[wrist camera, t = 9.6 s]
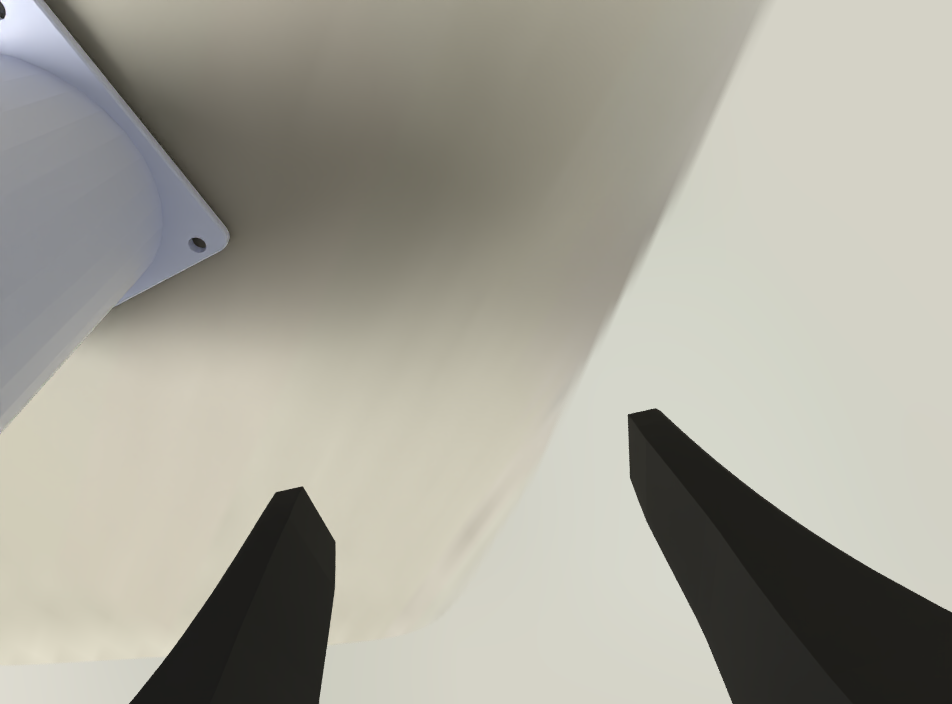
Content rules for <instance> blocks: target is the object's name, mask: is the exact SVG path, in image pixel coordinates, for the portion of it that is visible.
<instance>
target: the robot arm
mask: <svg viewBox="0 0 952 704" xmlns="http://www.w3.org/2000/svg"><path fill="white" fill-rule="evenodd" d="M0 1H1V2H2V4H3V6H4V7H5V9H6V16H5V18H4V19H3V18H1V17H0V434H1V433H2V432H3V431H4V429H5V428H6V427H7V426H8V425H9V424H10V423H11V422H12V420H13V419H14V418H15V417H16V416H17V415H18V414H19V413H20V412H21V410H22V409H23V408H24V407H25V406H26V405H27V404H28V403H29V401H30V400H31V399H32V398H33V397H34V396H35V395H36V394H37V392H38V391H39V390H40V389H41V388H42V387H43V386H44V385H45V383H46V382H47V381H48V380H49V379H50V378H51V377H52V376H53V374H54V373H55V372H56V371H57V370H58V369H59V368H60V367H61V365H62V364H63V363H64V362H65V361H66V360H67V359H68V358H69V356H70V355H71V354H72V353H73V352H74V351H75V350H76V349H77V347H78V346H79V345H80V344H81V343H82V342H83V341H84V340H85V338H86V337H87V336H88V335H89V334H90V333H91V332H92V331H93V329H94V328H95V327H96V326H97V325H98V324H99V323H100V322H101V320H102V319H103V318H104V317H105V316H106V315H107V314H108V313H109V311H110V310H111V309H112V308H113V307H115V306H117V305H119V304H121V303H123V302H125V301H127V300H128V299H130V298H132V297H134V296H136V295H138V294H140V293H142V292H144V291H146V290H147V289H149V288H151V287H153V286H155V285H157V284H159V283H161V282H163V281H165V280H166V279H168V278H170V277H172V276H174V275H176V274H178V273H180V272H182V271H184V270H186V269H187V268H189V267H191V266H193V265H195V264H197V263H199V262H201V261H203V260H205V259H206V258H208V257H210V256H212V255H214V254H216V253H218V252H220V251H222V250H223V249H224V248H225V247H226V246H227V244H228V242H229V239H230V236H229V232H228V230H227V228H226V227H225V225H224V224H223V223H222V222H221V220H220V219H219V218H218V217H217V215H216V214H215V213H214V212H213V210H212V209H211V208H210V207H209V205H208V204H207V203H206V202H205V200H204V199H203V198H202V197H201V195H200V194H199V193H198V192H197V190H196V189H195V188H194V187H193V185H192V184H191V183H190V182H189V181H188V179H187V178H186V177H185V176H184V174H183V173H182V172H181V171H180V169H179V168H178V167H177V166H176V164H175V163H174V162H173V161H172V159H171V158H170V157H169V156H168V154H167V153H166V152H165V151H164V149H163V148H162V147H161V146H160V144H159V143H158V142H157V141H156V139H155V138H154V137H153V136H152V134H151V133H150V132H149V131H148V130H147V128H146V127H145V126H144V125H143V123H142V122H141V121H140V120H139V118H138V117H137V116H136V115H135V113H134V112H133V111H132V110H131V108H130V107H129V106H128V105H127V103H126V102H125V101H124V100H123V98H122V97H121V96H120V95H119V93H118V92H117V91H116V90H115V88H114V87H113V86H112V85H111V84H110V82H109V81H108V80H107V79H106V77H105V76H104V75H103V74H102V72H101V71H100V70H99V69H98V67H97V66H96V65H95V64H94V62H93V61H92V60H91V59H90V57H89V56H88V55H87V54H86V52H85V51H84V50H83V49H82V47H81V46H80V45H79V44H78V42H77V41H76V40H75V39H74V38H73V36H72V35H71V34H70V33H69V31H68V30H67V29H66V28H65V26H64V25H63V24H62V23H61V21H60V20H59V19H58V18H57V16H56V15H55V14H54V13H53V11H52V10H51V9H50V8H49V6H48V5H47V4H46V3H45V1H44V0H0ZM194 237H197V238H200V239H202V240H203V241H204V242H205V244H206V247H205V248H201V247H198V246H196V245H195V244H194V242H193V241H192V238H194ZM628 431H629V459H630V460H629V461H630V479H631V481H632V484H633V487H634V490H635V492H636V495H637V498H638V500H639V503H640V506H641V508H642V511H643V513H644V516H645V518H646V521H647V523H648V525H649V527H650V529H651V531H652V532H653V535H654V537H655V539H656V541H657V542H658V545H659V546H660V548H661V550H662V552H663V554H664V556H665V558H666V560H667V562H668V564H669V566H670V568H671V570H672V571H673V574H674V575H675V578H676V580H677V581H678V583H679V585H680V587H681V589H682V591H683V593H684V595H685V597H686V599H687V601H688V603H689V605H690V607H691V608H692V610H693V612H694V614H695V616H696V618H697V620H698V622H699V625H700V627H701V629H702V631H703V633H704V635H705V637H706V639H707V642H708V644H709V647H710V649H711V652H712V654H713V657H714V659H715V661H716V664H717V666H718V669H719V671H720V674H721V676H722V678H723V681H724V683H725V685H726V688H727V691H728V693H729V696H730V698H731V701H732V703H733V704H952V612H950V611H948V610H946V609H944V608H942V607H940V606H938V605H937V604H934V603H933V602H931V601H929V600H927V599H926V598H924V597H922V596H920V595H918V594H916V593H914V592H913V591H911V590H909V589H907V588H905V587H903V586H902V585H900V584H898V583H896V582H894V581H892V580H891V579H889V578H887V577H885V576H884V575H882V574H880V573H878V572H876V571H874V570H873V569H871V568H869V567H868V566H866V565H864V564H863V563H861V562H859V561H858V560H856V559H854V558H852V557H851V556H849V555H848V554H846V553H844V552H843V551H841V550H839V549H838V548H836V547H835V546H833V545H832V544H830V543H828V542H827V541H825V540H824V539H822V538H821V537H819V536H817V535H816V534H814V533H813V532H811V531H810V530H808V529H807V528H805V527H804V526H802V525H801V524H799V523H798V522H796V521H795V520H793V519H792V518H791V517H789V516H788V515H786V514H785V513H784V512H782V511H781V510H779V509H778V508H777V507H775V506H774V505H773V504H771V503H770V502H768V501H767V500H766V499H764V498H763V497H762V496H760V495H759V494H757V493H756V492H755V491H754V490H752V489H751V488H750V487H748V486H747V485H746V484H745V483H743V482H742V481H741V480H739V479H738V478H737V477H736V476H735V475H733V474H732V473H731V472H730V471H728V470H727V469H726V468H724V467H723V466H722V465H721V464H720V463H718V462H717V461H716V460H715V459H714V458H712V457H711V456H710V455H709V454H708V453H706V452H705V451H704V450H703V449H702V448H701V447H700V446H698V445H697V444H696V443H695V442H694V441H693V440H692V439H690V438H689V437H688V436H687V435H686V434H685V433H683V431H681V430H680V429H679V428H678V427H677V426H676V425H675V424H674V423H673V422H672V421H671V420H670V419H668V418H667V417H666V416H665V415H664V414H663V413H662V412H661V411H659V410H658V409H650V410H646V411H641V412H637V413H632V414H628ZM334 590H335V540H334V539H333V537H332V535H331V534H330V532H329V530H328V528H327V527H326V525H325V523H324V522H323V520H322V518H321V517H320V515H319V513H318V511H317V510H316V508H315V506H314V505H313V503H312V501H311V500H310V498H309V496H308V494H307V493H306V491H305V489H304V488H303V486H302V487H298V488H293V489H289V490H284V491H280V492H276V493H275V494H274V496H273V498H272V499H271V501H270V502H269V504H268V505H267V507H266V508H265V510H264V512H263V513H262V515H261V517H260V518H259V520H258V521H257V523H256V525H255V526H254V528H253V529H252V531H251V533H250V534H249V536H248V538H247V539H246V541H245V542H244V544H243V546H242V547H241V549H240V550H239V552H238V554H237V555H236V557H235V558H234V560H233V561H232V563H231V565H230V566H229V568H228V569H227V571H226V572H225V574H224V575H223V577H222V579H221V580H220V582H219V583H218V585H217V586H216V588H215V589H214V591H213V592H212V594H211V595H210V597H209V598H208V600H207V601H206V603H205V604H204V606H203V607H202V608H201V610H200V611H199V613H198V614H197V616H196V617H195V618H194V620H193V621H192V623H191V624H190V626H189V627H188V628H187V630H186V631H185V633H184V634H183V636H182V637H181V638H180V640H179V641H178V642H177V644H176V645H175V646H174V648H173V649H172V651H171V652H170V653H169V655H168V656H167V657H166V658H165V660H164V661H163V663H162V664H161V665H160V666H159V668H158V669H157V670H156V671H155V672H154V674H153V675H152V676H151V678H150V679H149V680H148V681H147V682H146V684H145V685H144V686H143V688H142V689H141V690H140V691H139V692H138V694H137V695H136V696H135V697H134V699H133V700H132V701H131V702H130V703H129V704H319V697H320V690H321V683H322V676H323V669H324V662H325V656H326V649H327V642H328V635H329V628H330V620H331V613H332V606H333V598H334Z"/></svg>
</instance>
